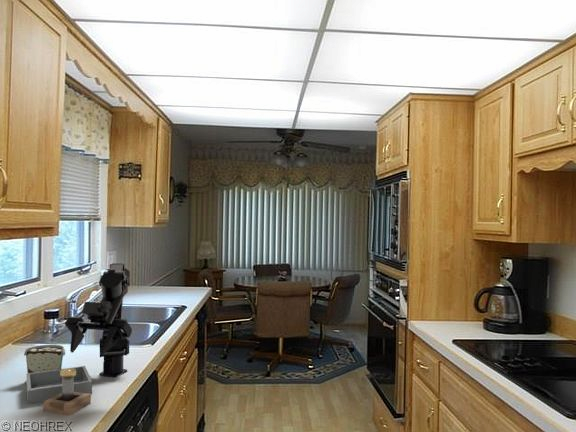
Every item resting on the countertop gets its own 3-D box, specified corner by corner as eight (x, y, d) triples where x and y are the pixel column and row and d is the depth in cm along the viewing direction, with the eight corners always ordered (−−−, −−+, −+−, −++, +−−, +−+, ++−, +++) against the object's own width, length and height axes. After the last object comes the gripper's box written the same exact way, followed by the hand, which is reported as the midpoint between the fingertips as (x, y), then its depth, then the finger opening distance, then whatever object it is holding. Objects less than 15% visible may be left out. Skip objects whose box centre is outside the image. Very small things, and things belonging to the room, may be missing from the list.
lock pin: (66, 403, 127) (67, 367, 127) (78, 405, 126) (79, 369, 126) (56, 409, 123) (56, 372, 123) (68, 410, 122) (69, 373, 122)
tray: (26, 390, 140) (26, 373, 140) (84, 381, 148) (85, 365, 148) (27, 409, 126) (27, 390, 126) (91, 399, 134) (92, 381, 134)
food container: (71, 374, 154) (72, 344, 155) (63, 381, 148) (63, 349, 148) (33, 374, 154) (33, 344, 154) (23, 381, 148) (23, 349, 148)
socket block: (65, 405, 129) (65, 390, 129) (90, 408, 127) (90, 393, 127) (43, 417, 122) (43, 401, 122) (69, 420, 120) (69, 405, 120)
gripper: (69, 289, 139) (42, 335, 128) (127, 291, 136) (105, 339, 125) (84, 311, 147) (61, 356, 136) (140, 313, 144) (120, 360, 133)
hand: (86, 352), depth 132 cm, fingers open, 9 cm apart
